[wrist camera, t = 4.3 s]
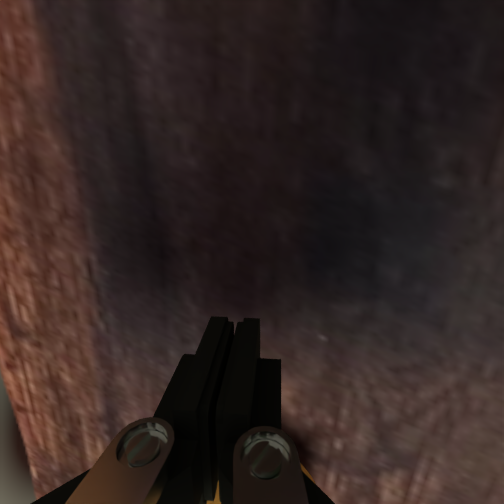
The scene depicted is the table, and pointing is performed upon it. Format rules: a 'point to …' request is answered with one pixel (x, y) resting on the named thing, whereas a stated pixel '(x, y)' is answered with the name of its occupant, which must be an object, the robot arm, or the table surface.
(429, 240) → the table surface
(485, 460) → the table surface
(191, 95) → the table surface
